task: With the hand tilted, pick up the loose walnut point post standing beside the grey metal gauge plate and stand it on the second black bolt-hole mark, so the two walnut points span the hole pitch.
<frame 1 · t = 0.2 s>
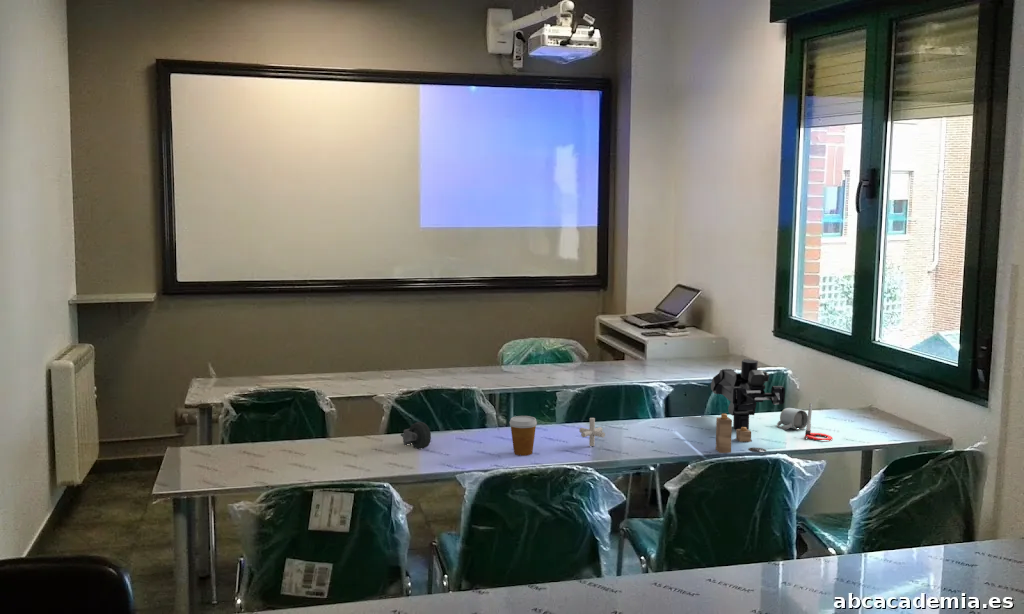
hand: (766, 401, 305), 17 cm above the table, tool horizontal, fingers open, 9 cm apart
gauge plate: (750, 446, 309), on the table
ceramic mug: (790, 428, 335), on the table
point post: (723, 453, 302), on the table
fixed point: (743, 439, 316), resting on gauge plate
disposable coffee cup: (523, 453, 302), on the table
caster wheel: (414, 446, 311), on the table
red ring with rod: (818, 439, 321), on the table
pipe connector: (591, 446, 310), on the table
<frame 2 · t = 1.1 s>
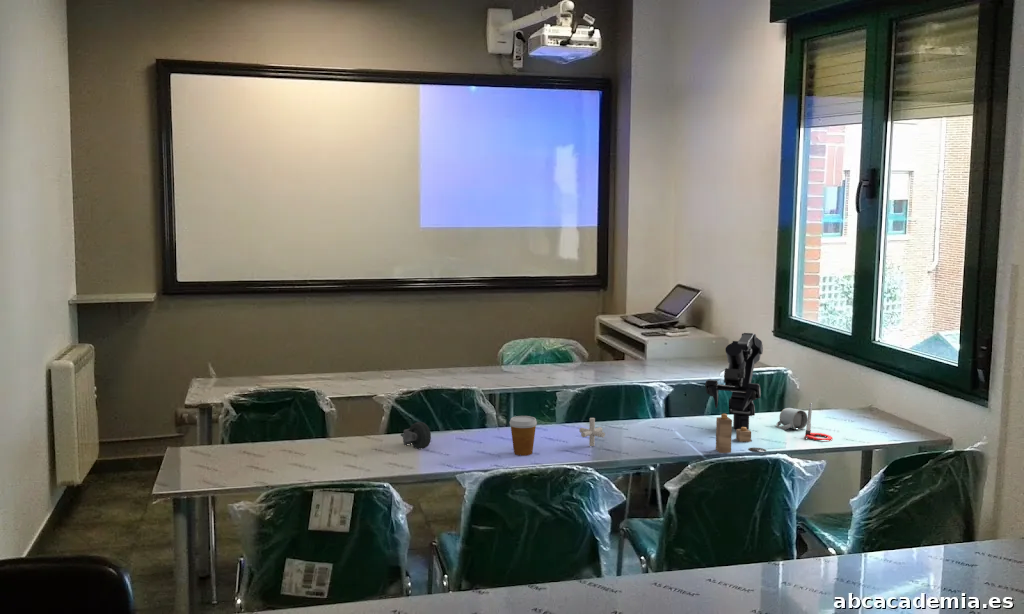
hand: (729, 409, 308), 14 cm above the table, tool tilted 45°, fingers open, 9 cm apart
nothing on the table moved.
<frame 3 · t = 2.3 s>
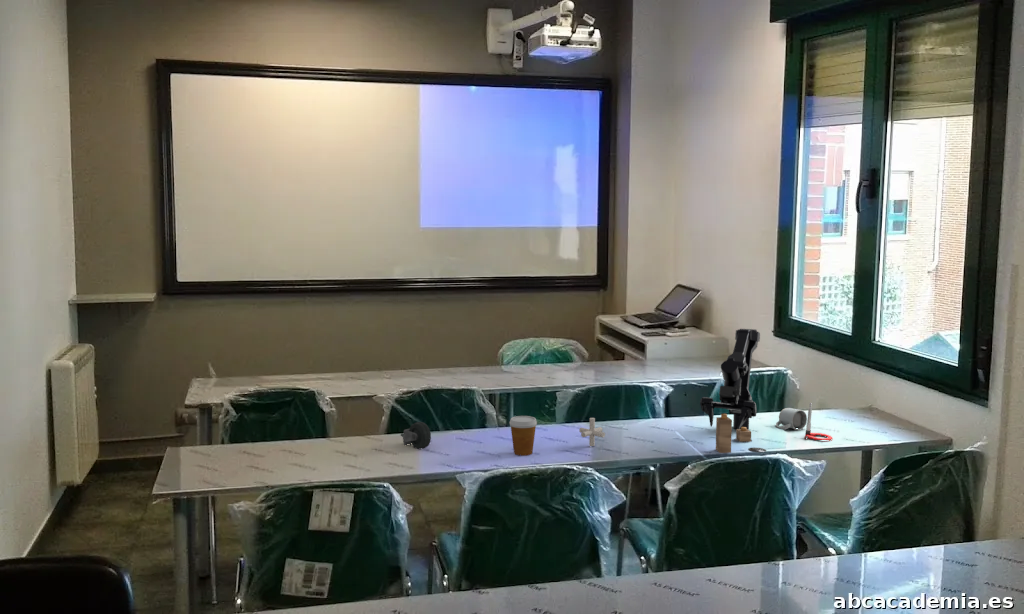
hand: (724, 427, 302), 9 cm above the table, tool tilted 45°, fingers open, 9 cm apart
nothing on the table moved.
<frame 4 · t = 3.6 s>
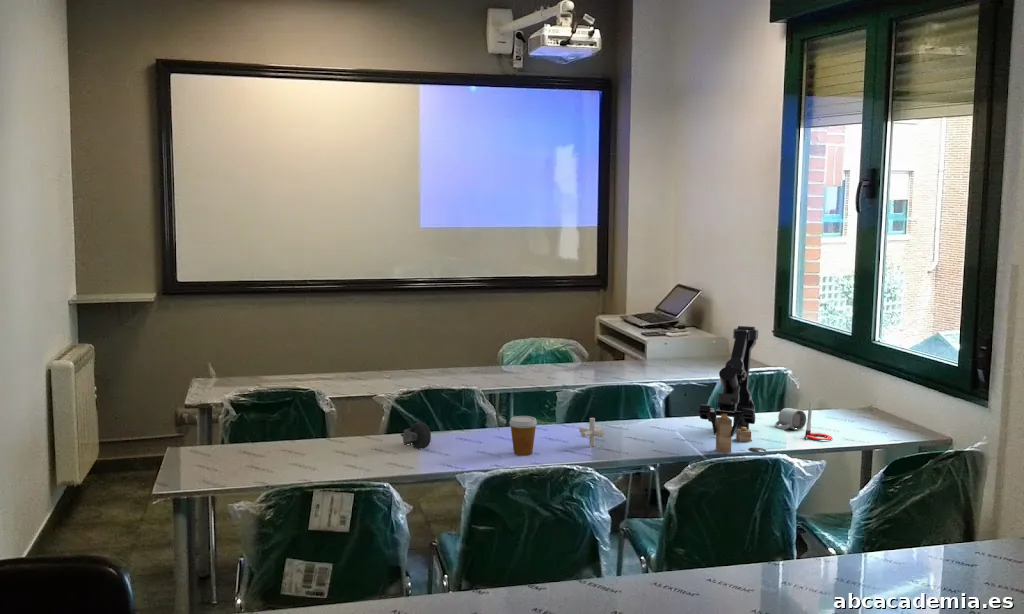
hand: (723, 435, 300), 7 cm above the table, tool tilted 45°, fingers closed on point post, 5 cm apart
point post: (723, 452, 302), on the table, touching gripper
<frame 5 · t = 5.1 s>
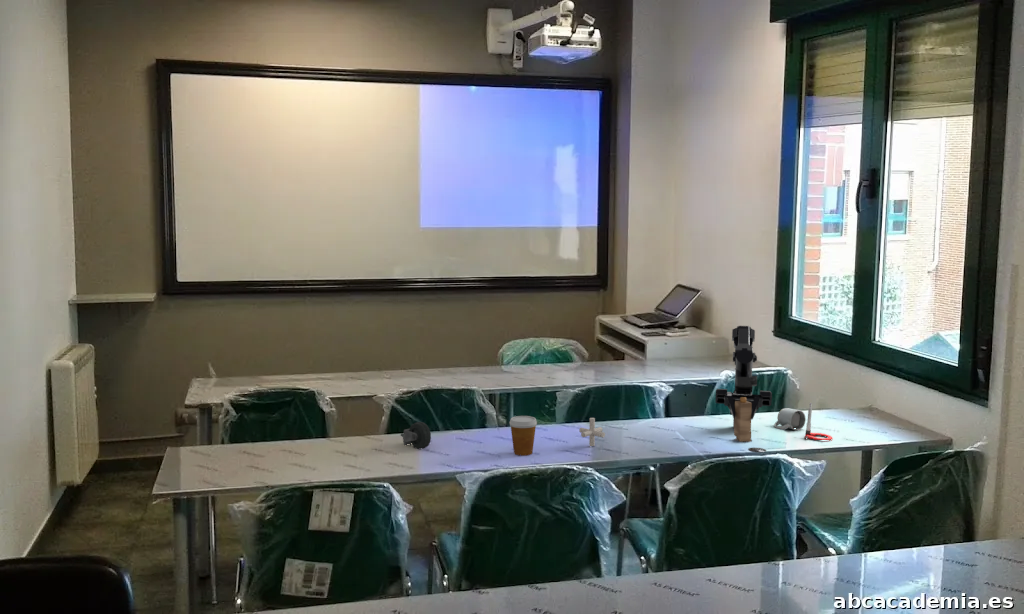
hand: (743, 418, 299), 12 cm above the table, tool tilted 45°, fingers closed on point post, 5 cm apart
point post: (742, 436, 301), point 6 cm above the table, touching gripper
when the fingers open (8 cm above the table, at t = 6.8 s): point post stays where it is, resting on gauge plate.
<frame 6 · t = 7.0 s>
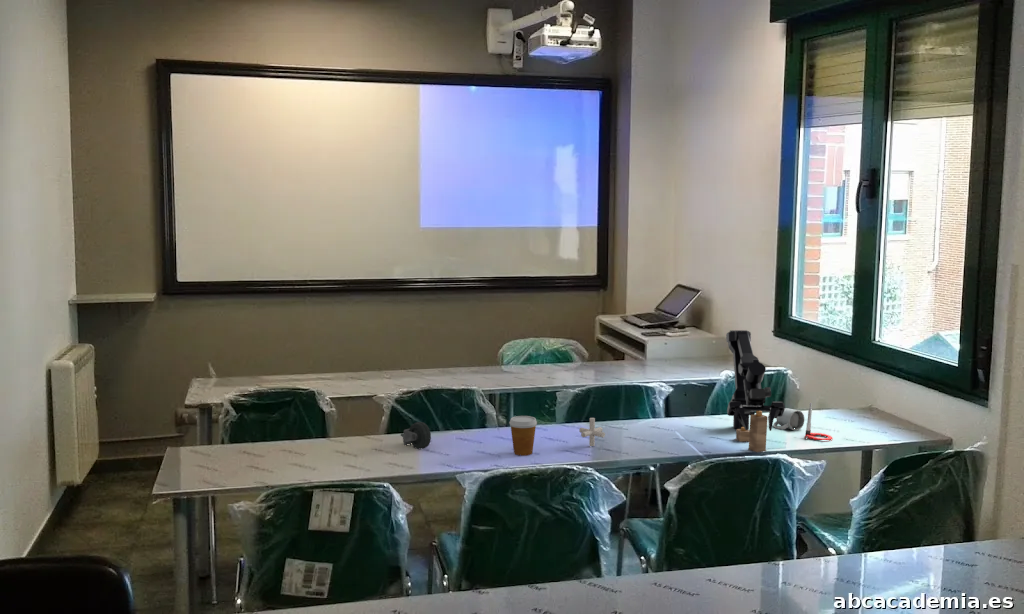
hand: (758, 430, 301), 8 cm above the table, tool tilted 45°, fingers open, 8 cm apart
point post: (757, 449, 303), point 1 cm above the table, touching gauge plate
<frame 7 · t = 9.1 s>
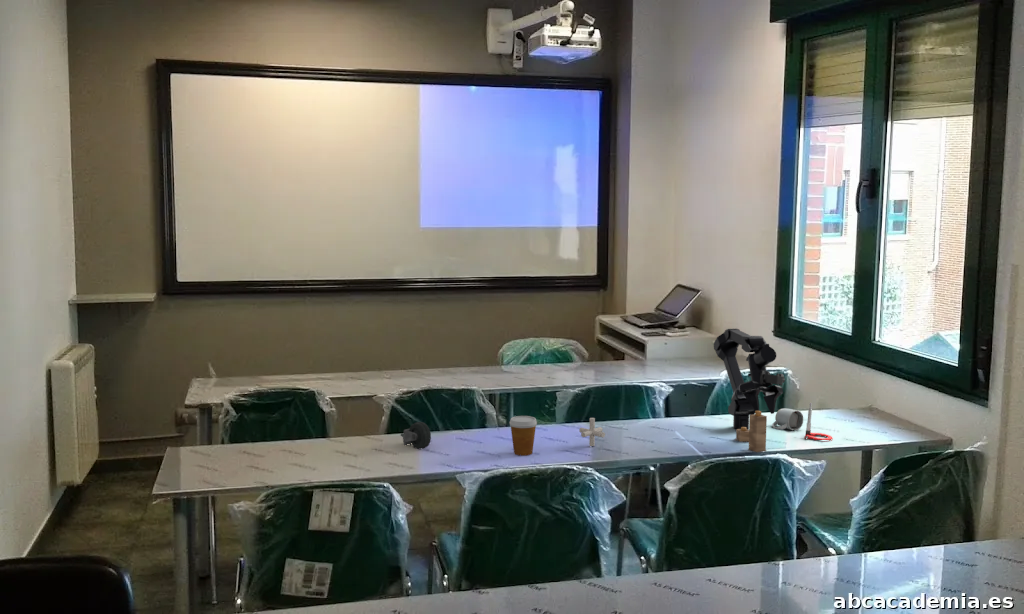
hand: (765, 412, 312), 11 cm above the table, tool tilted 25°, fingers open, 9 cm apart
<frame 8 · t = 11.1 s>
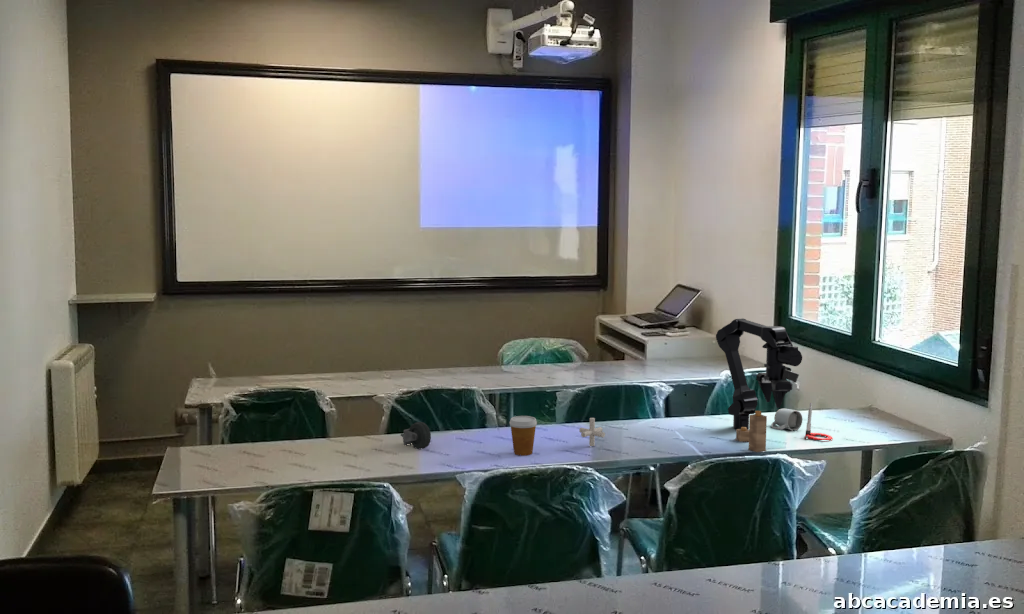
hand: (773, 404, 316), 13 cm above the table, tool pointing down, fingers open, 9 cm apart
at the end: point post 0.1 cm from the target spot, point 0.7 cm above the table; point post tilted 0°; the gripper is holding nothing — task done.
